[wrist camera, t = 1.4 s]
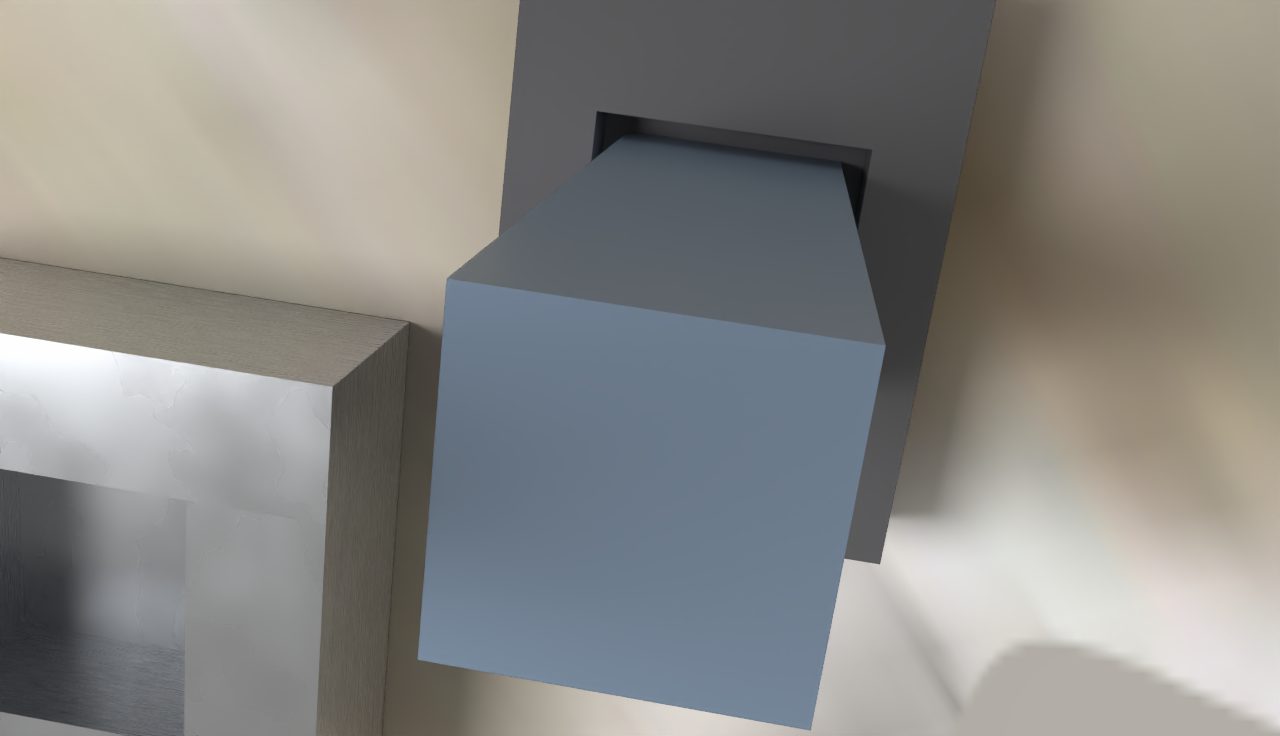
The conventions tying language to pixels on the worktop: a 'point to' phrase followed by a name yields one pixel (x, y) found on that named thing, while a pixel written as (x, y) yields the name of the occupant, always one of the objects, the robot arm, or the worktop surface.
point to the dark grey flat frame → (776, 136)
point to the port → (193, 509)
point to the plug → (655, 432)
